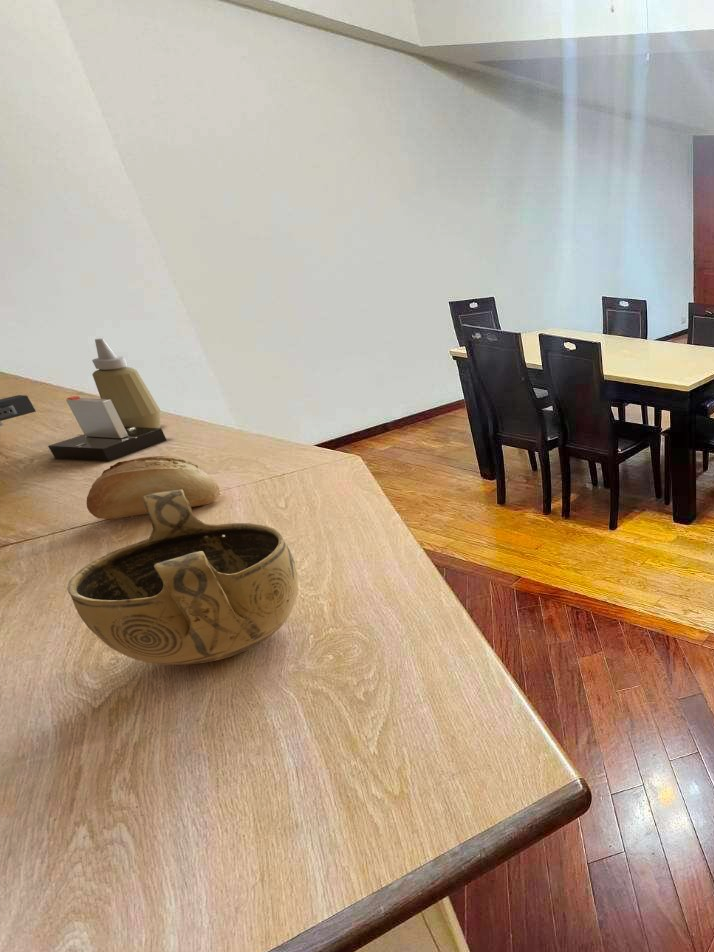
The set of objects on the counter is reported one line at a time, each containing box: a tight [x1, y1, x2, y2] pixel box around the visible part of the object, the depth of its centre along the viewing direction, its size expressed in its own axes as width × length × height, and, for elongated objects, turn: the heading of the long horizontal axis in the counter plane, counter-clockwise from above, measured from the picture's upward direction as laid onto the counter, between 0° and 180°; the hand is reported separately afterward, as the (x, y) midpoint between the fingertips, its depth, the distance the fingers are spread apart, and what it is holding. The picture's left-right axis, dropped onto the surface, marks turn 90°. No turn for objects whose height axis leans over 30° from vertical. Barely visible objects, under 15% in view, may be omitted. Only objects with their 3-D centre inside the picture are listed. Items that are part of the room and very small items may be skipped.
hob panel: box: [47, 426, 167, 462], centre depth 112 cm, size 12×11×3 cm
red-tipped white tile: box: [65, 395, 128, 439], centre depth 109 cm, size 7×2×7 cm, turn 86°
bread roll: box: [86, 455, 221, 520], centre depth 90 cm, size 10×15×8 cm, turn 132°
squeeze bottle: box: [91, 338, 162, 428], centre depth 118 cm, size 8×8×18 cm
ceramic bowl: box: [66, 490, 299, 666], centre depth 61 cm, size 22×17×15 cm
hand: (27, 403), depth 98 cm, fingers closed
